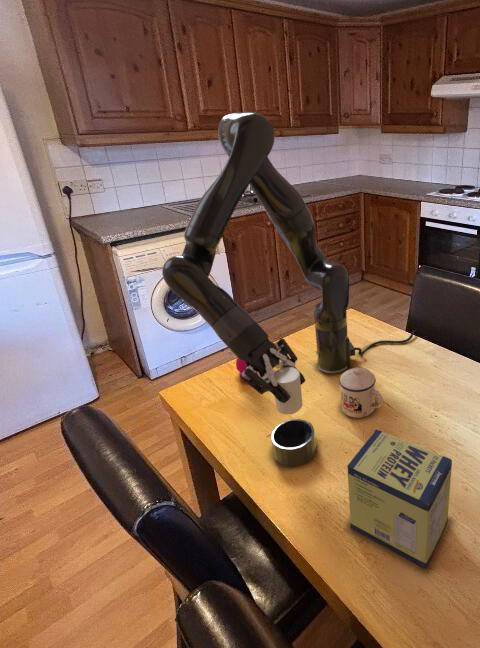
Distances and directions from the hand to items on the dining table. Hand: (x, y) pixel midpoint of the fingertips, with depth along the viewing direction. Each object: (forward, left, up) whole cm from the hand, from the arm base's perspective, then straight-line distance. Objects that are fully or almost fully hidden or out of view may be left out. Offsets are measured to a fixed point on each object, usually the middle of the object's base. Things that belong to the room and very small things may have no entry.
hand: (295, 391), depth 87 cm
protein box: (-14, +24, -17) cm, 32 cm away
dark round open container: (+1, -1, -17) cm, 17 cm away
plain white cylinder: (+1, -1, -4) cm, 5 cm away
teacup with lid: (-18, -9, -17) cm, 26 cm away
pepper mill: (+8, -34, -17) cm, 39 cm away
